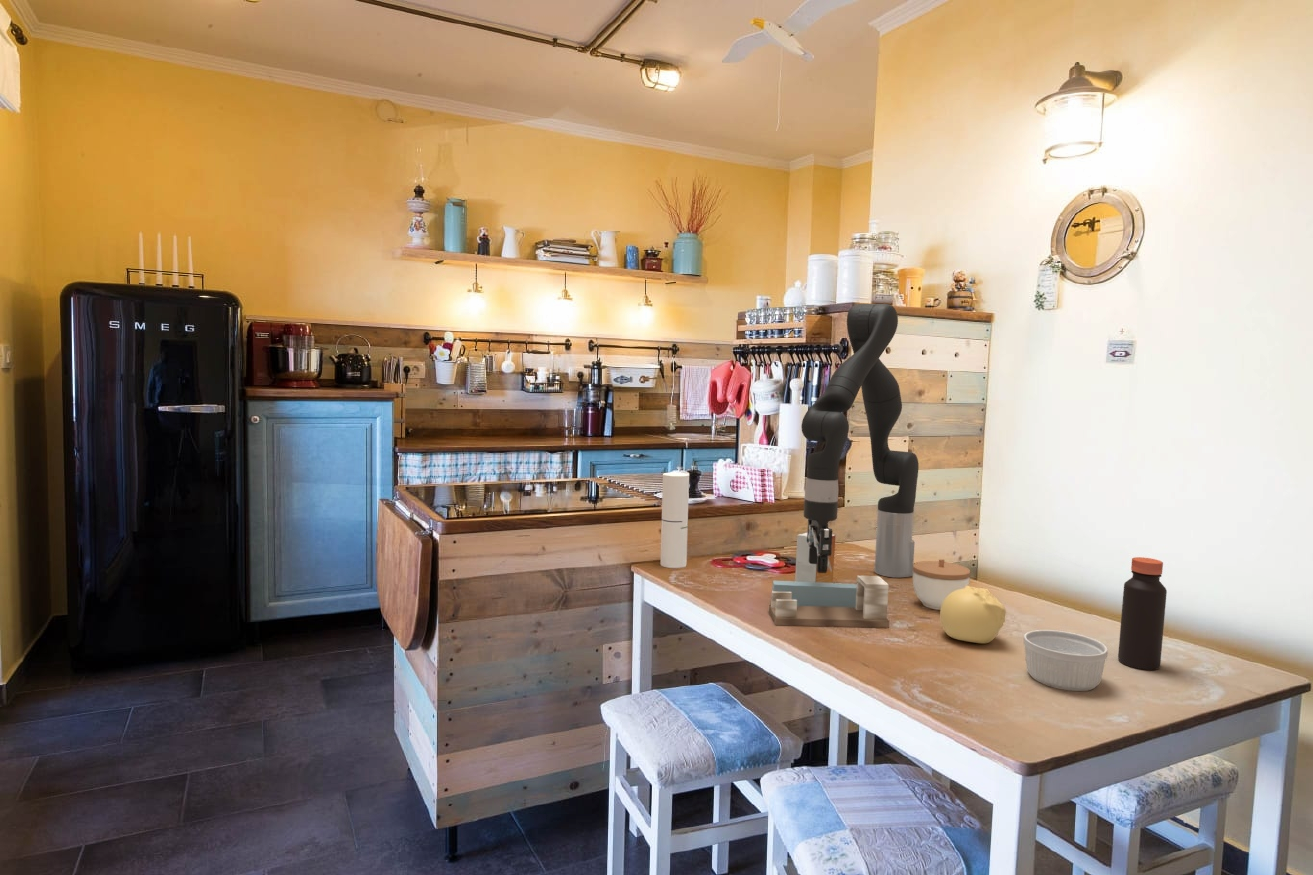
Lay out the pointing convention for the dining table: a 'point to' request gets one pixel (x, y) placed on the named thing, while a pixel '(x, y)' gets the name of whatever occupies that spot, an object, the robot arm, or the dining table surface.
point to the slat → (819, 593)
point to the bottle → (1143, 615)
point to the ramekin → (1064, 659)
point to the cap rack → (836, 608)
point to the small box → (807, 570)
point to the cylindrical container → (674, 520)
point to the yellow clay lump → (972, 615)
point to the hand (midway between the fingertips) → (817, 567)
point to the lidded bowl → (938, 581)
